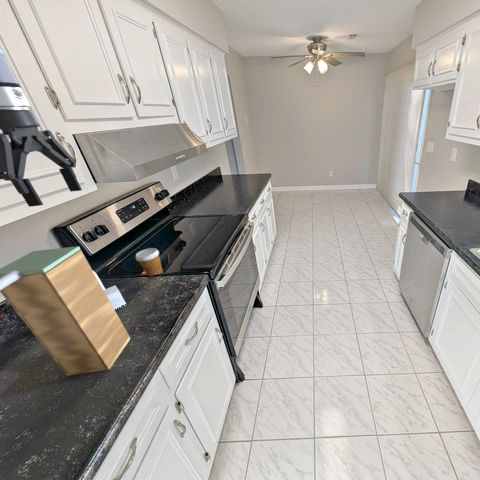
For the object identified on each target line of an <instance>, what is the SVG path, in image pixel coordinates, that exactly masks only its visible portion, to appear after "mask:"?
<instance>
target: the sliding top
mask: <svg viewBox="0 0 480 480" xmlns="http://www.w3.org/2000/svg"><path fill="white" fill-rule="evenodd" d="M79 250H81V246H79V245H78V246H69V247H68V246H67V247H58V248H50V249H42V250H40V249H39V250H32V251H30V252H28V253H27V254H25V255H23V256H21V257H19V258H17V259H16V260H14V261H12V262H10V263H8V264H6V265H5V266H3V267H1V268H0V290H2V289H3V288H5V287H7V286H8V285H10V284H12V283H13V282H15V281H16V280H18V279H20V278H21V277H22V275H31V274H40V273H45V272H47V271H48V270H50V269H51V268H53V267H54V266H56V265H58V264H59V263H61V262H62V261H64V260H65V259H67V258H68V257H70V256H71V255H73V254H74V253H76V252H77V251H79Z"/></svg>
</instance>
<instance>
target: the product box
mask: <svg viewBox="0 0 480 480" xmlns="http://www.w3.org/2000/svg"><path fill="white" fill-rule="evenodd" d="M104 292H105V294H106V295H107V297H108V299H109V301H110V303H111V304H112V306H113V308H114V310H115V309H116V310H118V309H120V308H122V307H123V306H122V305H124V306H126V305H127V302H126V301H125V298H124V297H123V296H122V295H123V294H121V292H120V289H118V287H117V286H116V285H112V286H110V287H108V288H105V290H104ZM125 304H126V305H125ZM121 306H122V307H121ZM119 307H120V308H119ZM117 308H118V309H117ZM116 310H115V311H116Z"/></svg>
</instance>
